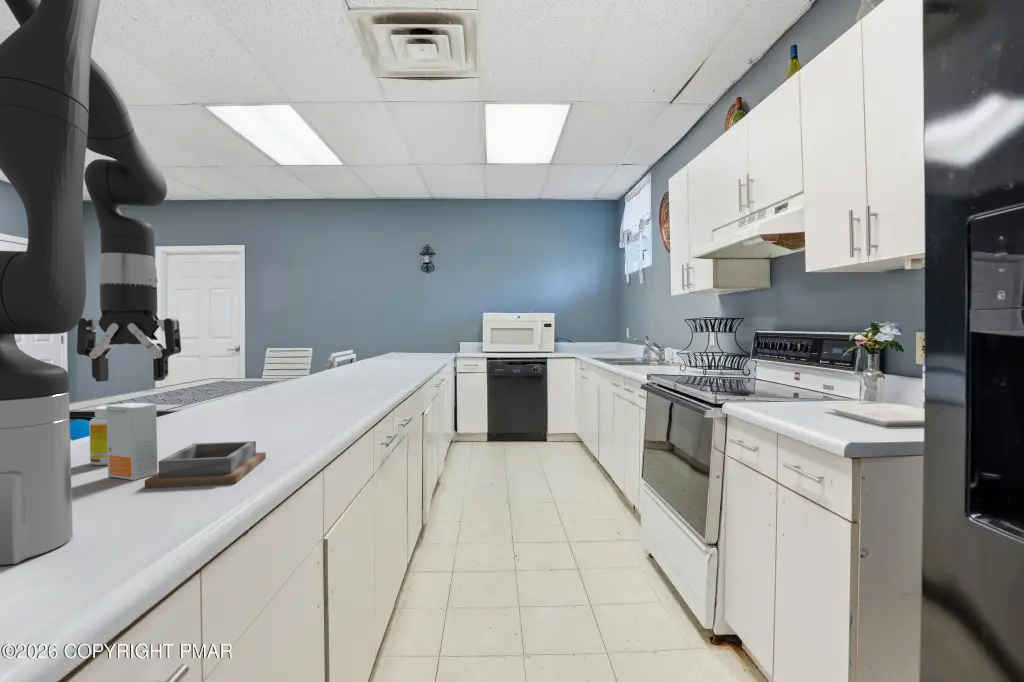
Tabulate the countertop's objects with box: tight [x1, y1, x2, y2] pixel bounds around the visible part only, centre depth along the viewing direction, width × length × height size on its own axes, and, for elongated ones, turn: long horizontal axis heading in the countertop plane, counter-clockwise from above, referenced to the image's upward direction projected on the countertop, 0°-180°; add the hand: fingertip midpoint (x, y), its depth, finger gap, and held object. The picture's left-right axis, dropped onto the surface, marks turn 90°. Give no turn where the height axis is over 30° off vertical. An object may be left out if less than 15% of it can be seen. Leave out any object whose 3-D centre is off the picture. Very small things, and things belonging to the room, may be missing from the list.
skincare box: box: [106, 402, 159, 481], centre depth 82 cm, size 6×4×12 cm
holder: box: [144, 440, 267, 489], centre depth 84 cm, size 15×13×4 cm
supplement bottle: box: [88, 405, 108, 466], centre depth 90 cm, size 6×6×10 cm
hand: (131, 380), depth 82 cm, fingers open, 8 cm apart
